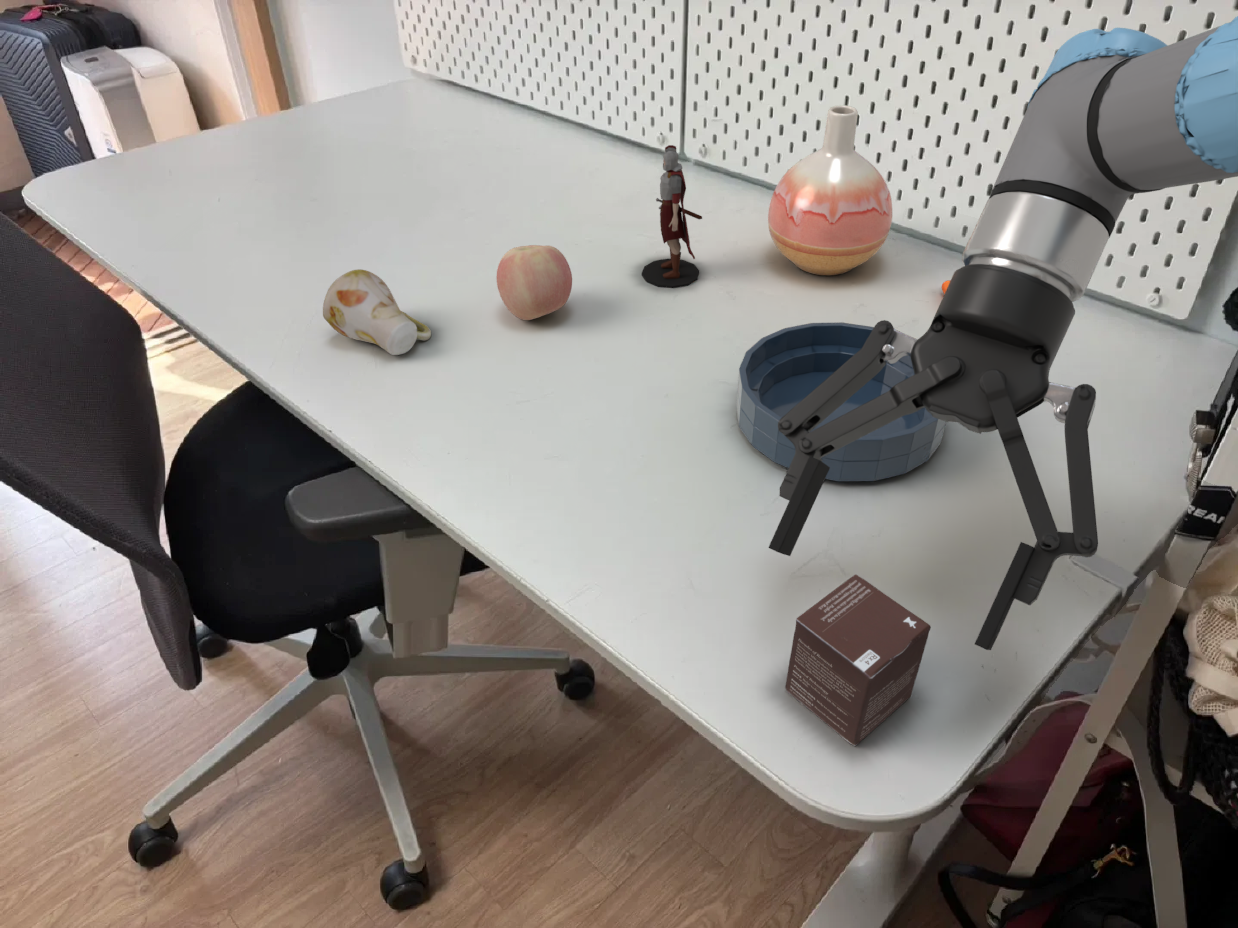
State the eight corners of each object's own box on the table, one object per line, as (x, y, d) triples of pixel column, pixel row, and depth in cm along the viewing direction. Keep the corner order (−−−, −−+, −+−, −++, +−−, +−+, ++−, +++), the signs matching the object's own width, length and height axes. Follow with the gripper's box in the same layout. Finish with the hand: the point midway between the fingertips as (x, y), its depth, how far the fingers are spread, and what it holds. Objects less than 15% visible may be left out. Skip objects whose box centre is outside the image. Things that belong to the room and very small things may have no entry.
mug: (393, 376, 93) (329, 293, 88) (360, 375, 101) (300, 298, 96) (447, 331, 95) (388, 248, 91) (411, 333, 103) (355, 257, 99)
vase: (748, 278, 106) (759, 122, 95) (784, 229, 116) (798, 82, 105) (868, 301, 102) (894, 140, 90) (895, 248, 111) (922, 97, 100)
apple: (582, 301, 103) (578, 234, 98) (561, 337, 97) (556, 268, 92) (513, 294, 105) (507, 227, 99) (490, 329, 99) (481, 260, 94)
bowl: (970, 406, 86) (983, 361, 83) (889, 516, 75) (900, 468, 72) (795, 346, 95) (800, 303, 92) (699, 437, 84) (700, 391, 81)
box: (841, 644, 65) (856, 570, 61) (913, 698, 62) (934, 625, 57) (782, 690, 62) (793, 617, 58) (853, 750, 59) (871, 677, 54)
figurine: (639, 261, 110) (638, 134, 100) (700, 258, 110) (705, 132, 101) (644, 289, 105) (643, 158, 95) (708, 286, 105) (714, 155, 95)
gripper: (1231, 365, 55) (1082, 691, 56) (845, 254, 67) (724, 524, 67) (1252, 327, 49) (1082, 696, 49) (820, 211, 60) (686, 511, 61)
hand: (875, 597), depth 58 cm, fingers open, 13 cm apart
